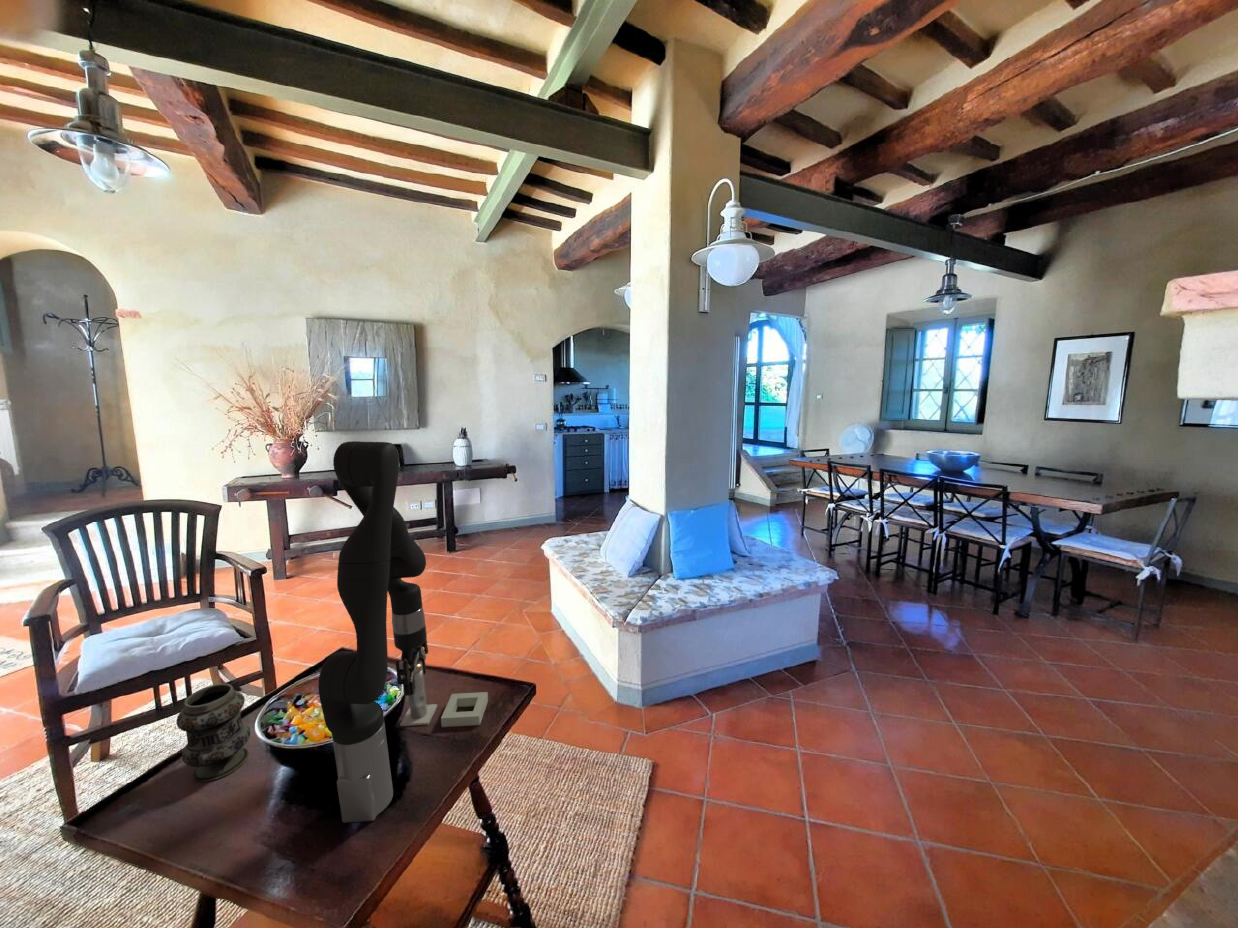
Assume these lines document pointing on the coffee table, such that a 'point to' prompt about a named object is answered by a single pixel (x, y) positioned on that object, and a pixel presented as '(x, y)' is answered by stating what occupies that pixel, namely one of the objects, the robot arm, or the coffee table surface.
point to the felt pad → (422, 721)
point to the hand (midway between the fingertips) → (415, 683)
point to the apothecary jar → (214, 732)
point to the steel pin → (418, 694)
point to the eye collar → (464, 718)
